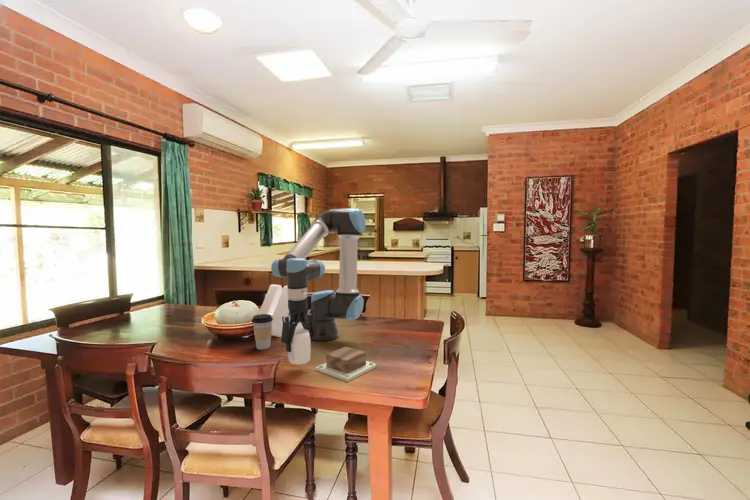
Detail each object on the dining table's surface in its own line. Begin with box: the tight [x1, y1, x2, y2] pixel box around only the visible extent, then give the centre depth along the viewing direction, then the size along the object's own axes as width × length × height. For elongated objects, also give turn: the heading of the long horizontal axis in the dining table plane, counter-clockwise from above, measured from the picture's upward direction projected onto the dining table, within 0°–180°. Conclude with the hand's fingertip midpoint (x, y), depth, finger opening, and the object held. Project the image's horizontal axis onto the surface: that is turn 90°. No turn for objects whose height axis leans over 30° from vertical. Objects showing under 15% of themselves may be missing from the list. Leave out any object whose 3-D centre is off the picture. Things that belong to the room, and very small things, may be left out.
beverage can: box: [288, 329, 311, 366], centre depth 136 cm, size 8×8×12 cm
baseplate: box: [315, 360, 377, 383], centre depth 138 cm, size 17×17×2 cm
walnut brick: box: [325, 346, 367, 374], centre depth 138 cm, size 11×11×5 cm
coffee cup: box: [251, 314, 273, 351], centre depth 162 cm, size 9×9×15 cm
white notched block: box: [258, 284, 303, 338], centre depth 187 cm, size 19×15×25 cm
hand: (299, 355), depth 136 cm, fingers closed on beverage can, 8 cm apart
